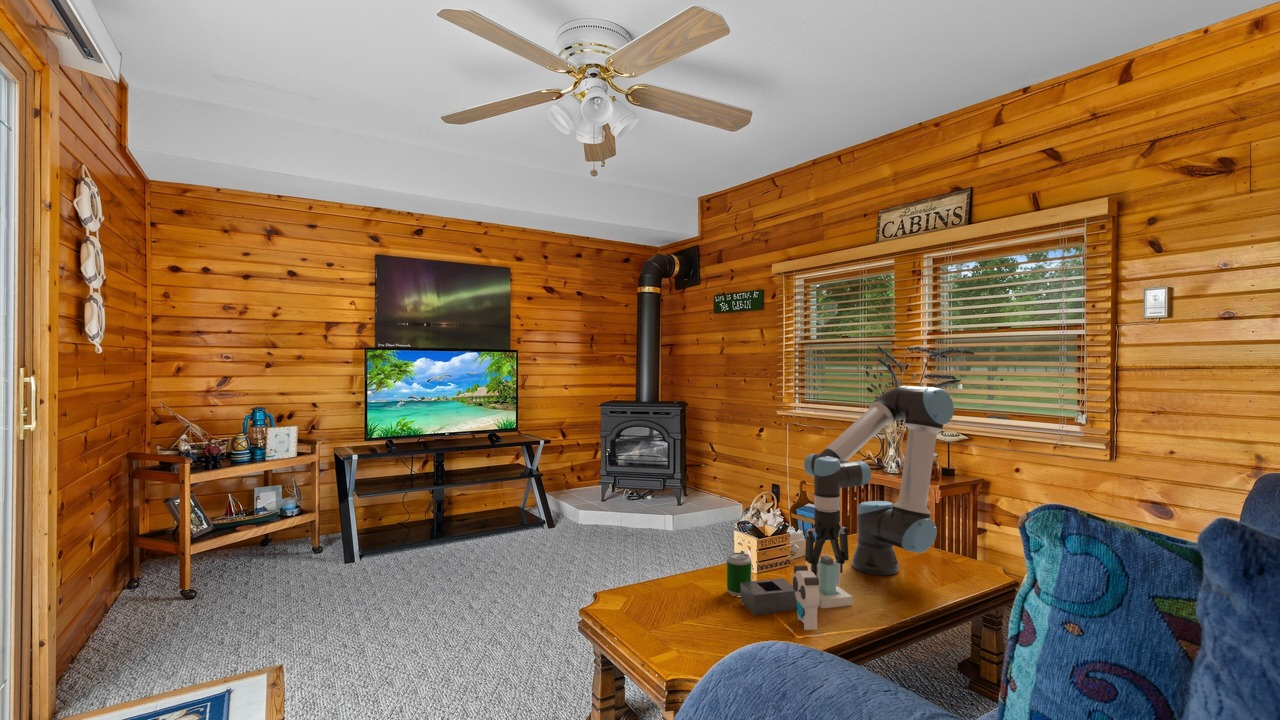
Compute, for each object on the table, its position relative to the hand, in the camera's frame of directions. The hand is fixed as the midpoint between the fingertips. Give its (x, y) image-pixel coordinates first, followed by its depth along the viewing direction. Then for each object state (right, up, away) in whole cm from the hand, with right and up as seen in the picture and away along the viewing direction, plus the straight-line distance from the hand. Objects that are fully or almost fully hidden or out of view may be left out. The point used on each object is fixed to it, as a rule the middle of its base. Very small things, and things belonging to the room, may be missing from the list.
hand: (826, 584), depth 186 cm
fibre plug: (0, -4, 0) cm, 4 cm away
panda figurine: (-11, -5, -17) cm, 21 cm away
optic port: (-19, -5, -4) cm, 20 cm away
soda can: (-26, -5, +5) cm, 27 cm away
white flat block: (0, -5, 0) cm, 5 cm away
